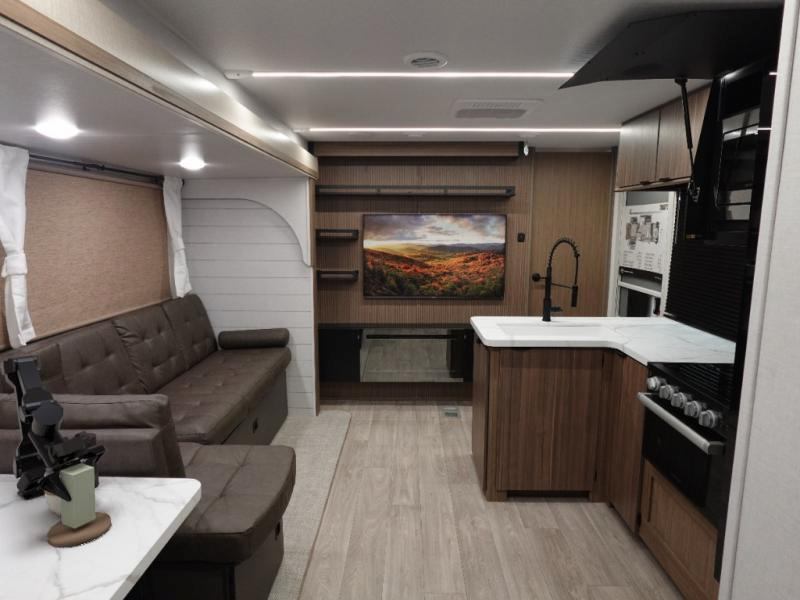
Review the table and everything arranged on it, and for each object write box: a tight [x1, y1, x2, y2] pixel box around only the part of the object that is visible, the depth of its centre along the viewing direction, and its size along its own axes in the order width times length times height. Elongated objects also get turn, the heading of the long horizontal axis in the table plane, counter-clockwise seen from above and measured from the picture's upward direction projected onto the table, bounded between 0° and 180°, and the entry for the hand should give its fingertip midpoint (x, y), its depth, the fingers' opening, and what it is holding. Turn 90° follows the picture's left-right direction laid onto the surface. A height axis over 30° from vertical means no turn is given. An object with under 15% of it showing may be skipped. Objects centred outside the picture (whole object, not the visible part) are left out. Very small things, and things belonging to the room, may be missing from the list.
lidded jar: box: [44, 490, 62, 517], centre depth 131 cm, size 11×11×9 cm
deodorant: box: [70, 432, 100, 489], centre depth 143 cm, size 6×6×15 cm
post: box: [59, 463, 96, 528], centre depth 121 cm, size 5×5×13 cm
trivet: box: [46, 511, 112, 549], centre depth 121 cm, size 13×13×2 cm
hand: (81, 495), depth 120 cm, fingers closed on post, 5 cm apart
